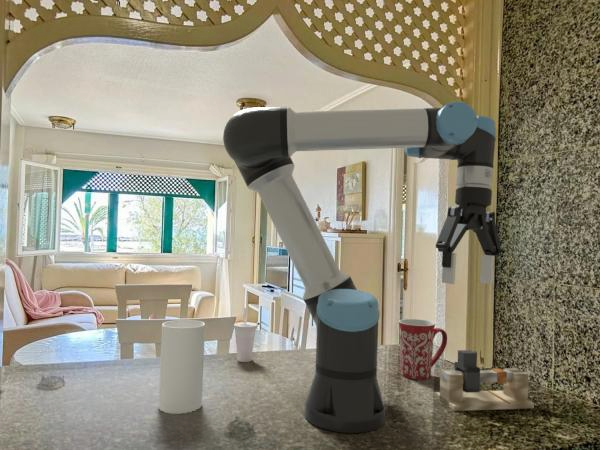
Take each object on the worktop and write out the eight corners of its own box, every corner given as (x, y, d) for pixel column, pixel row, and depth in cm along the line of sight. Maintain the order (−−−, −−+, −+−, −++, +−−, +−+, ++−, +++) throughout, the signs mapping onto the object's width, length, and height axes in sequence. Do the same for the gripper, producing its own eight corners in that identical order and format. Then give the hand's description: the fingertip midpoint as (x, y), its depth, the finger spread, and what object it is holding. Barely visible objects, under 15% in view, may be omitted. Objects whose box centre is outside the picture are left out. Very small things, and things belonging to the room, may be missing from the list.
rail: (453, 410, 90) (454, 377, 90) (435, 396, 98) (436, 365, 98) (534, 408, 93) (534, 375, 93) (509, 394, 101) (510, 364, 101)
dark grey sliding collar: (466, 392, 92) (467, 354, 93) (454, 384, 97) (454, 348, 97) (479, 392, 93) (480, 354, 93) (466, 384, 98) (467, 348, 98)
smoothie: (247, 355, 126) (249, 305, 127) (260, 361, 121) (262, 309, 122) (227, 359, 122) (230, 307, 123) (240, 364, 117) (242, 311, 118)
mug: (404, 381, 108) (406, 325, 109) (392, 370, 117) (393, 318, 118) (454, 381, 110) (455, 325, 110) (438, 370, 119) (439, 318, 119)
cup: (198, 396, 93) (201, 319, 94) (204, 411, 86) (208, 326, 86) (157, 400, 90) (160, 320, 91) (159, 416, 83) (163, 328, 83)
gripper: (452, 179, 89) (445, 285, 89) (521, 193, 103) (515, 285, 103) (422, 181, 96) (416, 280, 95) (491, 194, 110) (486, 281, 109)
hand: (467, 283), depth 99 cm, fingers open, 13 cm apart
